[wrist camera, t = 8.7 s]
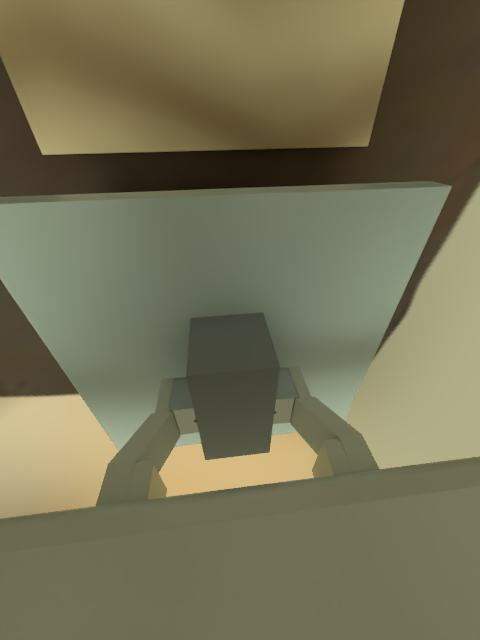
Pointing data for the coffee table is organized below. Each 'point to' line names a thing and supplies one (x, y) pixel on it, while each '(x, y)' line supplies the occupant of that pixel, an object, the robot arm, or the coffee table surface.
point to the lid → (215, 295)
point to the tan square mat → (197, 72)
